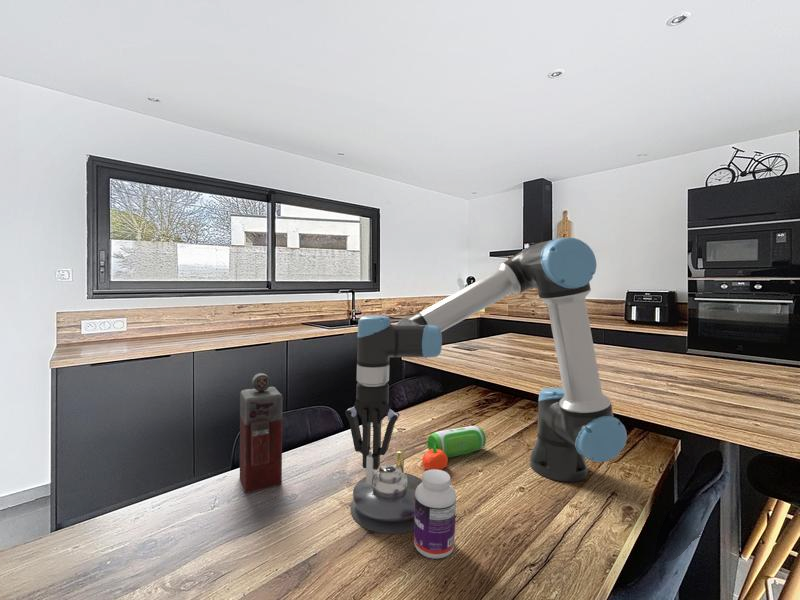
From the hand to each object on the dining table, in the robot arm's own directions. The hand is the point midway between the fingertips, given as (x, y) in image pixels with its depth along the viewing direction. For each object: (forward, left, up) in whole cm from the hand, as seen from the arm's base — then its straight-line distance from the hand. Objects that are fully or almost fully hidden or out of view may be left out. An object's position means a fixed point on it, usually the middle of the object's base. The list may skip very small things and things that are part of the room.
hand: (370, 481), depth 89 cm
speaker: (-17, -33, -6) cm, 38 cm away
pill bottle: (-17, +11, -6) cm, 21 cm away
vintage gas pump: (+30, -1, -6) cm, 30 cm away
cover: (-5, 0, -1) cm, 5 cm away
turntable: (-5, 0, -3) cm, 6 cm away
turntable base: (-5, 0, -5) cm, 7 cm away
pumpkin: (-12, -21, -6) cm, 25 cm away
